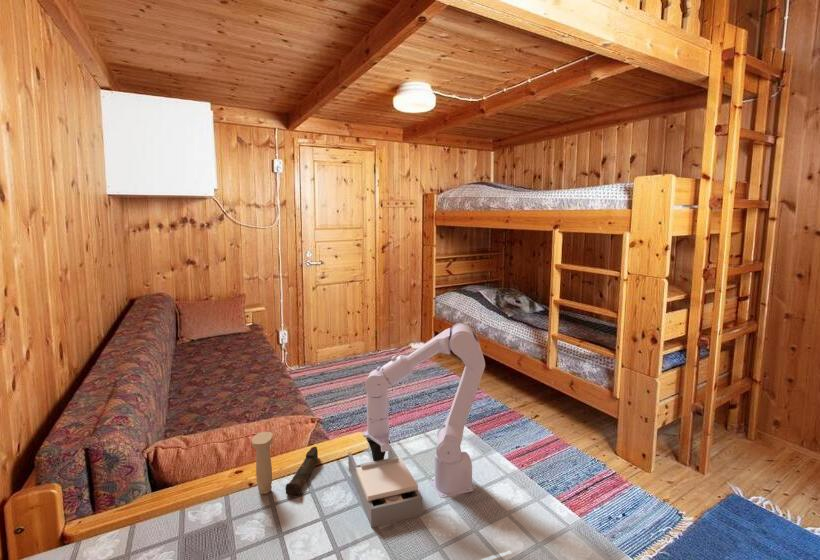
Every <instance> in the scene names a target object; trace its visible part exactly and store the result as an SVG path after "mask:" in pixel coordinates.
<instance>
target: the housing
mask: <svg viewBox="0 0 820 560" xmlns="http://www.w3.org/2000/svg"><path fill="white" fill-rule="evenodd" d="M347 454H348V455H347V457H348V459H347V461H348V471H349V473H350V475H351V478H352V481H353V483H354V486H355V488H356V491H357V494H358V497H359V499H360V501H361V505H362V507H363V510H364V513H365V515H366V518H367V521H368V523H369V526H370V528H371V529H372V528H376V527H380V526H384V525H388V524H392V523H396V522H400V521H404V520H408V519H409V520H410V519H413V518H416V517H420V516H421V517H422V516H423V496H422V494H421V493H420V491H419V489H418V490H415V491H410V492H406V493H401V494H400V495H401V496H402V498H403V500H399V501H395V502H390V503H386V504H383V503H382V504H380V502H379V499H375V500H371V501H368V500H367V498H366V495H365V493H364V490H363V488H362V485H361V483H360V480H359V478H358V476H357V473H356V468H357V467H361V464H356V461H355V458H354V456H353V453H352V452H348V453H347ZM393 457H398V459H400V458H399V456H398V454H397V453H396V451H395V450H394V448H393V447H392V445H391V444H389V451H387V459H388V458H393Z"/></svg>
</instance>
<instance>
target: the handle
mask: <svg viewBox="0 0 820 560" xmlns="http://www.w3.org/2000/svg"><path fill="white" fill-rule="evenodd" d="M273 436H274V435H273V433H272V432H271V431H261V432H260V431H259V432H258V433H256V434H255V435H254V436H253V437H252V439H251V446H252V448H253V449H255V451H256V452H255V453H256V455H255V458H256V460H255V465H256V467H255V473H256V474H255V476H256V484H257V489H258V492H259V494H260V495H268V494H269V493H270V492H271V491H272V489H273V488H272V487H273V486H272V483H273V467H272V460H271V450H270V449H271V448H270V446H271V444H273V440H274V437H273Z"/></svg>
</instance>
